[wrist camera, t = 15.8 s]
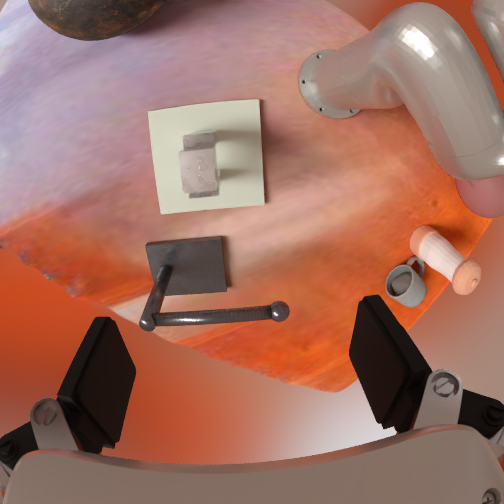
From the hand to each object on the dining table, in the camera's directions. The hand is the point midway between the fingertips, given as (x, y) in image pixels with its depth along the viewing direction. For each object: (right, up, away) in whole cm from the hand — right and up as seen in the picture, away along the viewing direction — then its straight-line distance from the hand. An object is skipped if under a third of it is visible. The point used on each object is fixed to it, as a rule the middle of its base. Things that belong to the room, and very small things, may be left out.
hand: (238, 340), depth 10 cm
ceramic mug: (+35, -2, +49) cm, 60 cm away
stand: (-7, +1, +44) cm, 44 cm away
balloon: (+46, +22, +38) cm, 63 cm away
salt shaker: (+38, +6, +45) cm, 59 cm away
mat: (-7, +19, +35) cm, 41 cm away
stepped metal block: (-7, +19, +34) cm, 40 cm away
